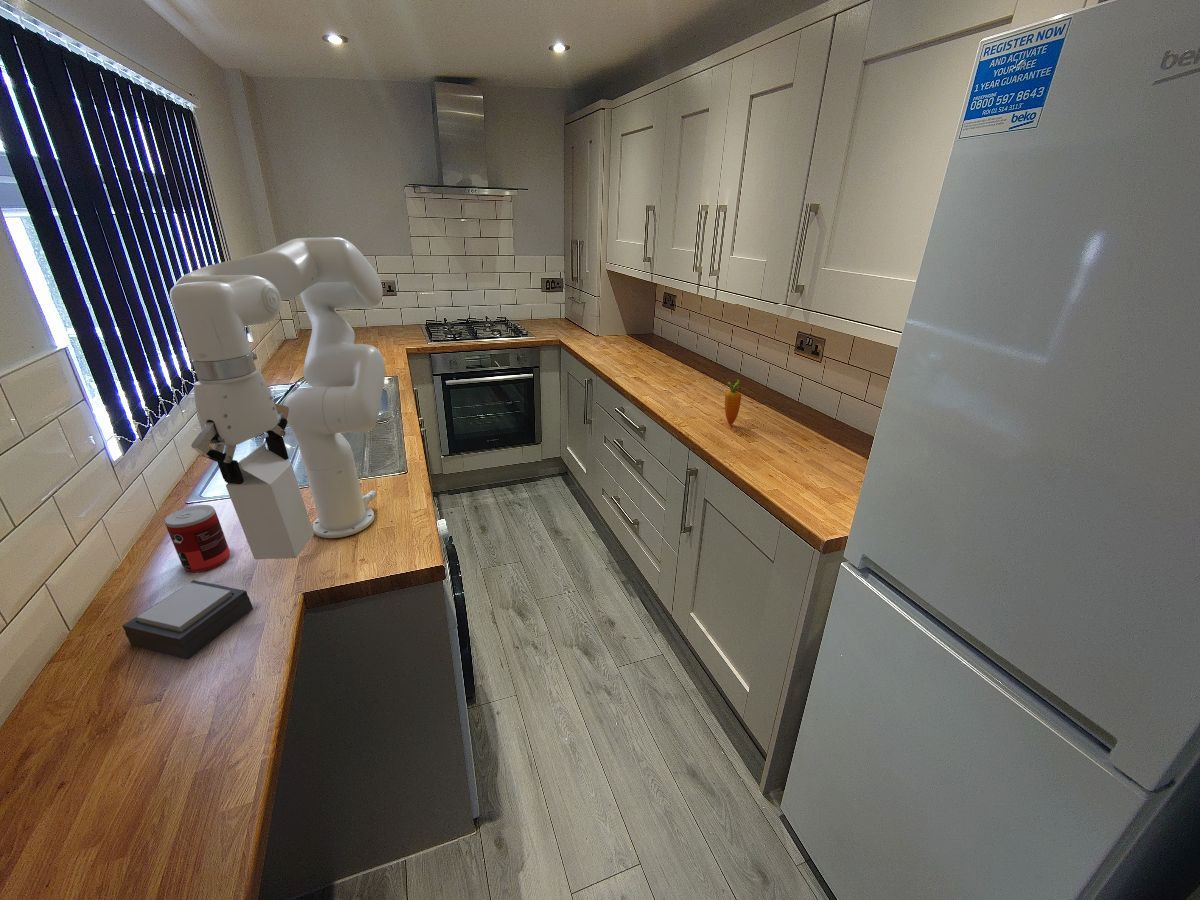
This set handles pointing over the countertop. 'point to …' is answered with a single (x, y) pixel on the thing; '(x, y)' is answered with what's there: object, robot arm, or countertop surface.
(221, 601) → the scale pan
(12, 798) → the countertop surface
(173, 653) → the scale
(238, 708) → the countertop surface
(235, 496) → the milk carton
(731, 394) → the carrot
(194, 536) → the canned food
